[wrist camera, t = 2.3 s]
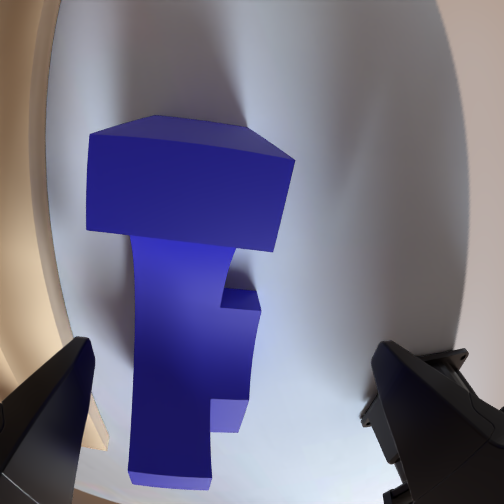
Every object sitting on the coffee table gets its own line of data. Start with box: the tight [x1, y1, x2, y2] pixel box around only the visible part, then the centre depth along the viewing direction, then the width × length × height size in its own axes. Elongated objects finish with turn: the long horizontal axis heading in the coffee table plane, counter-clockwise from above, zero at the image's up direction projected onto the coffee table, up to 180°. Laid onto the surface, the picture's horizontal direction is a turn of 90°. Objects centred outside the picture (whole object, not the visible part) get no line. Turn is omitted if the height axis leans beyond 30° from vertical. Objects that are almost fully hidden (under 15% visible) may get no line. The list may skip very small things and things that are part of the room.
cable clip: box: [86, 115, 295, 490], centre depth 9 cm, size 12×4×6 cm, turn 169°
